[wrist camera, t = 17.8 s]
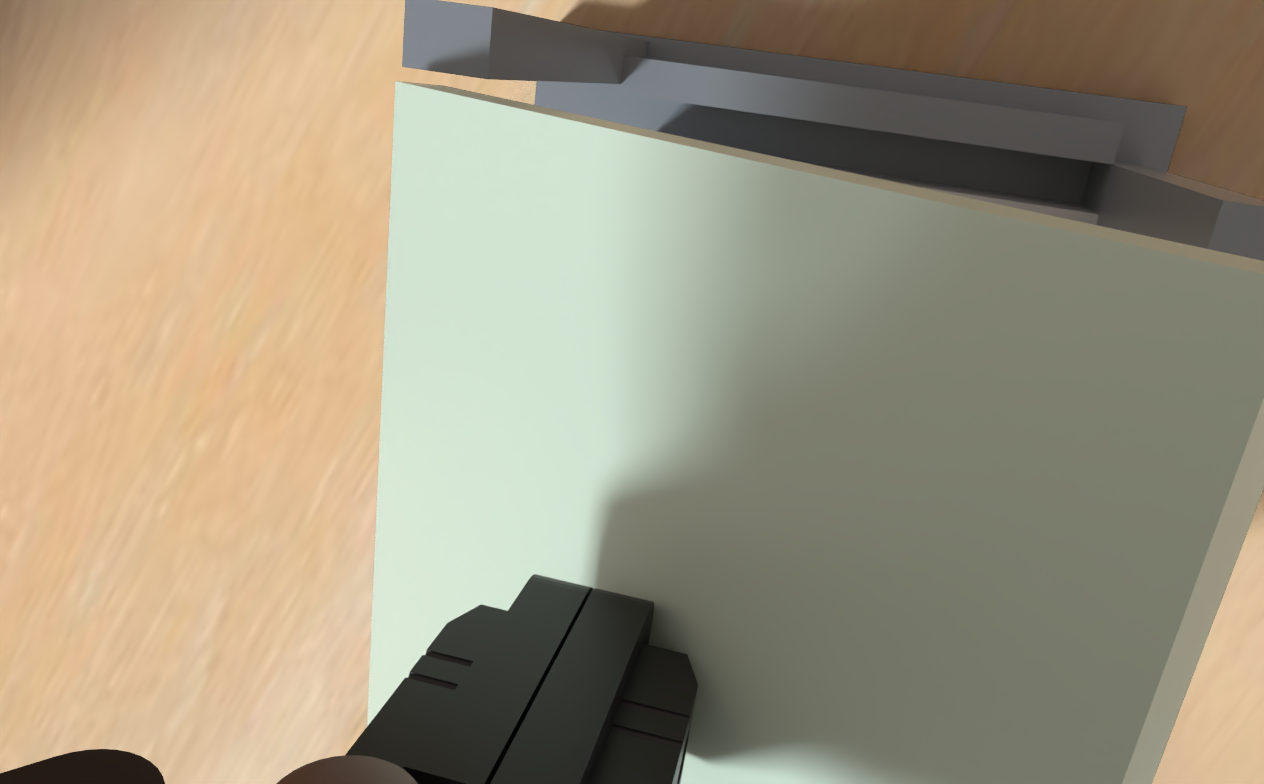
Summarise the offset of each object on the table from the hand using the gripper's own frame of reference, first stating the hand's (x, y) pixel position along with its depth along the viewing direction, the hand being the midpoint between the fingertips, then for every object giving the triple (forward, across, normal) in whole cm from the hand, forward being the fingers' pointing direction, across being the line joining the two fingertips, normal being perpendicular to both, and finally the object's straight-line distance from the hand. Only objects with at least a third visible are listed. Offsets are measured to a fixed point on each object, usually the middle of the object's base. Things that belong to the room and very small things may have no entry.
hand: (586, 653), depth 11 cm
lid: (+2, -1, 0) cm, 2 cm away
